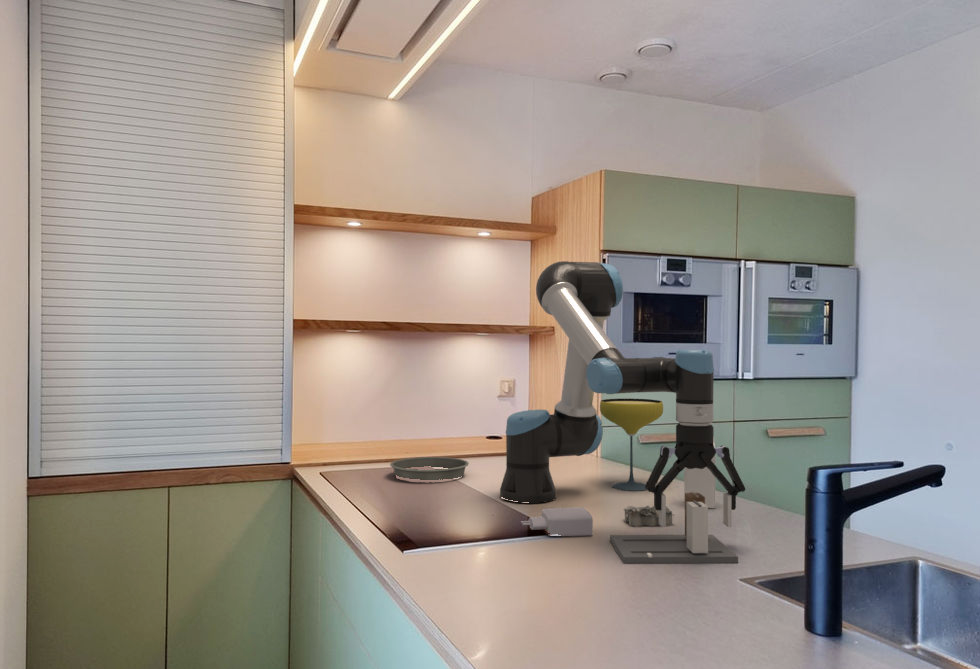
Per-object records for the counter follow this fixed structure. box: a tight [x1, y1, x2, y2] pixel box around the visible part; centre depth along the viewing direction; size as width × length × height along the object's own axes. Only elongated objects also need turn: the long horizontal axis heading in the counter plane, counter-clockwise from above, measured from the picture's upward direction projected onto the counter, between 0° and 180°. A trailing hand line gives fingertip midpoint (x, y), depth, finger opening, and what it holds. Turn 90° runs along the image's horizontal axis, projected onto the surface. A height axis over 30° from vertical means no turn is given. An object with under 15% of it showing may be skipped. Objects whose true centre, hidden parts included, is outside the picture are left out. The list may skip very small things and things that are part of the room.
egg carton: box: [623, 505, 675, 528], centre depth 163 cm, size 11×8×4 cm
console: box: [609, 534, 739, 564], centre depth 141 cm, size 22×15×2 cm
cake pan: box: [389, 456, 469, 480], centre depth 219 cm, size 25×25×4 cm
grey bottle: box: [520, 506, 594, 537], centre depth 155 cm, size 5×9×15 cm
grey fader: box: [686, 500, 709, 553], centre depth 137 cm, size 3×4×9 cm
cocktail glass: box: [599, 398, 664, 492], centre depth 202 cm, size 18×18×25 cm
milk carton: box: [683, 441, 716, 509], centre depth 180 cm, size 7×7×19 cm
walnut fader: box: [684, 492, 705, 537], centre depth 145 cm, size 3×4×9 cm
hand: (694, 525), depth 145 cm, fingers open, 13 cm apart
